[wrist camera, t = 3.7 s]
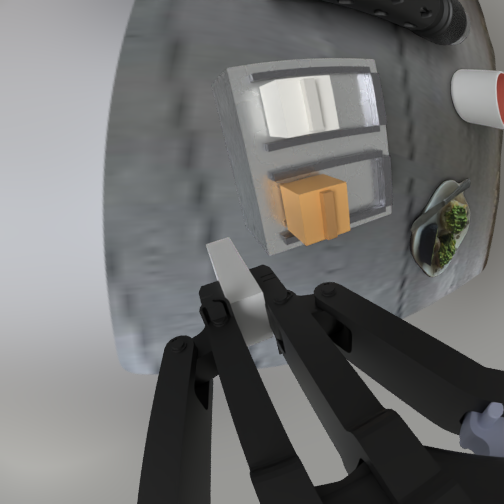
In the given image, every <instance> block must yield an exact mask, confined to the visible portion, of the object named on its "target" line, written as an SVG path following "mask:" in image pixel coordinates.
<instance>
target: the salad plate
mask: <svg viewBox="0 0 504 504" xmlns="http://www.w3.org/2000/svg"><path fill="white" fill-rule="evenodd" d="M469 187H470V180H469V179H466V180H464V181H463V182H461V183H457V182H456V181H454V180H448V181H444V182H443V183H442V184H441V185H440V186H439V187H438V188H437V190H436V191H435V192H434V194H433V196H432V198H431V199H430V201H429V202H428V204H427V205H426V207H425V208H424V210H423V211H422V213H421V214H420V216H419V217H418V218H417V219H416V220H415V222H414V223H413V225H412V227H411V230H410V231H412V234H411V238H410V251H411V254H412V256H413V258H414V260H415V262H416V263H417V264H418V265H419V266H420V268H421V269H422V270H423V272H424V273H425V274H426V275H427V276H429V277H435V276H438V275H439V274H441V273H442V272H443V271H444V270H445V269H446V268H447V266H448V265H449V263H450V261H451V259H452V258H453V256H454V254H455V252H456V251H457V249H458V247H459V245H460V244H461V242H462V240H463V239H464V237H465V235H466V233H467V230H468V227H469V222H470V209H469V206H468V204H467V202H466V200H465V198H464V195H463V192H464V191H465V190H466V189H468V188H469ZM453 234H455V235H454V237H453ZM438 236H439V237H438Z"/></svg>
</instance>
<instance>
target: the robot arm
mask: <svg viewBox="0 0 504 504" xmlns="http://www.w3.org/2000/svg"><path fill="white" fill-rule="evenodd" d="M206 247H207V250H208V253H209V256H210V259H211V262H212V265H213V268H214V271H215V274H216V277H217V280H218V281H216V282H213V283H210V284H207V285H204V286H201V288H200V291H199V296H200V299H201V304H202V305H201V307H200V311H199V312H200V314H201V317H202V319H203V321H204V324H205V328H204V329H203V331H202V332H201V333H200V334H198V335H197V336H195V337H193V338H191V337H189V336H178V337H175V338H173V339H171V340H170V341H169V342H168V343H167V344H166V347H165V349H164V353H163V358H162V362H161V367H160V371H159V376H158V381H157V386H156V390H155V395H154V400H153V405H152V410H151V416H150V421H149V427H148V432H147V438H146V444H145V451H144V457H143V463H142V470H141V478H140V485H139V493H138V502H137V504H210V486H211V485H210V482H211V476H210V475H211V429H212V428H211V427H212V400H213V378H214V377H215V376H217V375H219V377H220V380H221V383H222V387H223V390H224V393H225V396H226V400H227V403H228V406H229V410H230V413H231V416H232V419H233V422H234V425H235V428H236V431H237V434H238V436H239V440H240V443H241V446H242V448H243V451H244V454H245V457H246V460H247V462H248V465H249V468H250V477H251V481H252V483H253V486H254V489H255V491H256V494H257V497H258V499H259V502H260V504H504V371H501V370H496V369H491V368H486V367H484V366H482V365H480V364H478V363H477V362H475V361H474V360H472V359H470V358H468V357H467V356H465V355H463V354H461V353H460V352H458V351H456V350H455V349H453V348H451V347H449V346H448V345H446V344H444V343H443V342H441V341H439V340H437V339H436V338H434V337H432V336H430V335H429V334H427V333H425V332H423V331H422V330H420V329H418V328H416V327H415V326H413V325H411V324H409V323H408V322H406V321H404V320H402V319H401V318H399V317H397V316H395V315H393V314H392V313H390V312H388V311H386V310H385V309H383V308H381V307H379V306H377V305H376V304H374V303H372V302H370V301H369V300H367V299H365V298H363V297H361V296H360V295H358V294H356V293H354V292H352V291H351V290H349V289H347V288H345V287H343V286H342V285H340V284H337V283H335V282H326V283H322V284H320V285H318V286H317V287H316V288H315V290H314V294H311V295H304V296H298V295H296V294H295V293H294V292H292V291H290V290H287V289H286V288H285V287H284V285H283V284H282V283H281V282H280V280H279V279H278V278H277V276H276V275H275V274H274V272H273V271H272V270H271V268H270V267H267V266H265V265H260V266H258V267H255V268H252V269H248V267H247V266H246V264H245V263H244V261H243V259H242V258H241V256H240V254H239V253H238V251H237V249H236V248H235V246H234V244H233V243H232V241H231V240H230V238H229V237H227V238H224V239H221V240H218V241H215V242H212V243H209V244H206ZM272 331H273V333H274V335H275V337H276V341H277V346H278V350H279V354H283V356H284V357H285V359H286V361H287V363H288V365H289V366H290V368H291V370H292V372H293V374H294V375H295V377H296V379H297V381H298V383H299V384H300V386H301V388H302V390H303V391H304V393H305V395H306V397H307V399H308V400H309V402H310V404H311V405H312V407H313V409H314V411H315V413H316V414H317V416H318V418H319V420H320V421H321V423H322V425H323V427H324V428H325V430H326V432H327V433H328V435H329V437H330V439H331V440H332V442H333V443H334V446H335V447H336V449H337V451H338V452H339V454H340V456H341V458H342V461H343V463H344V466H345V469H346V471H347V473H348V476H347V477H346V478H344V479H343V480H341V481H338V482H334V483H329V484H325V485H320V486H315V487H314V486H313V484H312V482H311V480H310V478H309V476H308V474H307V472H306V470H305V468H304V466H303V464H302V462H301V460H300V459H299V457H298V456H297V454H296V452H295V450H294V448H293V446H292V444H291V442H290V440H289V438H288V436H287V434H286V432H285V430H284V428H283V425H282V423H281V421H280V419H279V417H278V415H277V412H276V410H275V408H274V406H273V404H272V402H271V399H270V397H269V395H268V393H267V391H266V388H265V386H264V384H263V382H262V379H261V377H260V375H259V373H258V370H257V368H256V366H255V364H254V361H253V359H252V357H251V354H250V352H249V350H248V346H250V345H253V344H256V343H259V342H261V341H264V340H267V339H269V338H272V337H273V333H272ZM347 360H348V361H350V362H351V363H352V364H354V365H355V366H356V367H358V368H359V369H361V370H362V371H363V372H365V373H366V374H367V375H368V376H370V377H371V378H372V379H374V380H375V381H376V382H378V383H379V384H380V385H382V386H383V387H385V388H386V389H387V390H388V391H390V392H391V393H393V394H394V395H395V396H397V397H398V398H399V399H401V400H402V401H404V402H405V403H406V404H408V405H409V406H411V407H412V408H413V409H415V410H416V411H417V412H419V413H420V414H422V415H423V416H424V417H426V418H427V419H429V420H430V421H432V422H433V423H435V424H436V425H438V426H439V427H441V428H443V429H445V430H447V431H449V432H451V433H454V434H457V435H460V446H461V447H462V448H464V449H470V450H472V451H473V452H474V454H467V453H462V452H455V451H450V450H444V449H439V448H434V447H429V446H423V445H422V444H421V442H420V441H419V440H418V438H417V437H416V436H415V435H414V433H413V432H412V431H411V429H410V428H409V427H408V426H407V424H406V423H405V422H404V420H403V419H402V418H401V417H400V415H399V414H398V413H397V412H396V411H394V410H392V409H385V408H384V407H383V406H382V405H381V404H380V402H379V401H378V400H377V399H376V397H375V396H374V395H373V393H372V392H371V391H370V389H369V388H368V387H367V385H366V384H365V383H364V382H363V380H362V379H361V378H360V376H359V375H358V374H357V372H356V371H355V370H354V369H353V367H352V366H351V365H350V363H349V362H348V361H347Z"/></svg>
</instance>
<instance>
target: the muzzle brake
mask: <svg viewBox="0 0 504 504" xmlns="http://www.w3.org/2000/svg"><path fill="white" fill-rule="evenodd" d="M322 1H327V2H331V3H335V4H338V5H342V6H346V7H349V8H353V9H356V10H359V11H362V12H365V13H368V14H371V15H374V16H377V17H380V18H383V19H385V20H388V21H390V22H393V23H395V24H398V25H400V26H403V27H405V28H408V29H411V30H412V31H413V32H414V33H415V34H417V35H419V36H421V37H423V38H425V39H427V40H429V41H431V42H433V43H435V44H439V45H457V44H459V43H461V42H463V41H464V40H465V39H466V38H467V36H468V34H469V32H470V19H469V17H468V15H467V13H466V11H465V10H464V8H463V7H462V5H461V3H460V2H459V1H458V0H322Z"/></svg>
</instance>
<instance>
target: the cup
mask: <svg viewBox="0 0 504 504" xmlns="http://www.w3.org/2000/svg"><path fill="white" fill-rule="evenodd" d="M451 96H452V101H453V104H454V107H455V109H456V111H457V113H458V114H459V116H460V117H461V118H462V119H463V120H464V121H466V122H469V123H474V124H479V125H484V126H489V127H494V128H499V129H503V130H504V72H502V71H493V70H475V69H460V70H457V71H456V72H455V73H454V75H453V77H452V80H451Z"/></svg>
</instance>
